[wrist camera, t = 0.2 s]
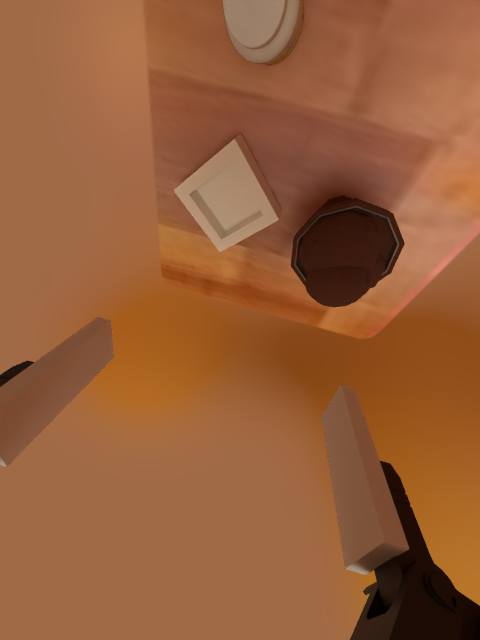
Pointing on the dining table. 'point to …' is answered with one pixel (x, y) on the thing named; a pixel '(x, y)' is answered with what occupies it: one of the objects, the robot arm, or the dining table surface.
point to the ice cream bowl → (345, 250)
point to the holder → (229, 196)
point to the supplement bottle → (264, 28)
